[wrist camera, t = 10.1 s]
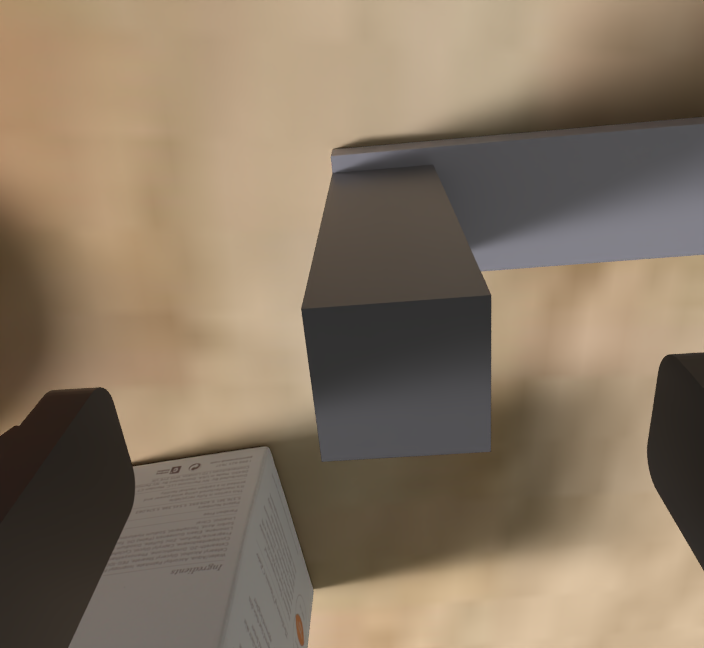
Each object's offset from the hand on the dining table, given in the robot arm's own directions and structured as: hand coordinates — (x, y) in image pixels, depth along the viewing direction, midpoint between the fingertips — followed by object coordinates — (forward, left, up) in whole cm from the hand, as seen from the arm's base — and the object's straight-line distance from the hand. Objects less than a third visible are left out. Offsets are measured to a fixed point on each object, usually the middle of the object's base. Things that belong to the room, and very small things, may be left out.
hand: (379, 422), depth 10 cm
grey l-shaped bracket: (0, +8, -13) cm, 15 cm away
